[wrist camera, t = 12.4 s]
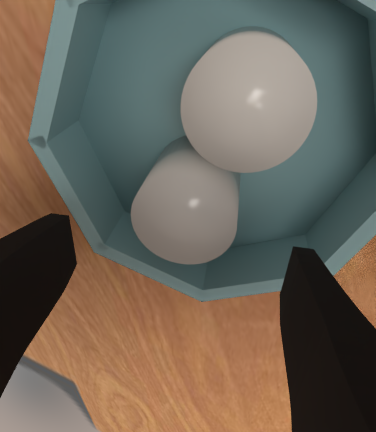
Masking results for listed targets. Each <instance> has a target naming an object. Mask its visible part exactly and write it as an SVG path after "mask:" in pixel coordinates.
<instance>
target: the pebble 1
mask: <svg viewBox="0 0 376 432" xmlns="http://www.w3.org/2000/svg"><path fill="white" fill-rule="evenodd" d="M240 180H241V173H238V172H232V171H228V170H224V169H221V168H219V167H217V166H215V165H213V164H211V163H210V162H208V161H207V160H206V159H204V158H203V157H202V156H201V155H200V154H199V153H198V152H197V151H196V150H195V149H194V147H193V146H192V145H191V143H190V141H189V140H188V138H187V136H183V137H180V138H178V139H176V140H174V141H172V142H171V143H169V144H168V145H167V146H166V147H165V148H164V150H163V151H162V152H161V154H160V156H159V157H158V159H157V161H156V162H155V164H154V166H153V167H152V169H151V171H150V172H149V174H148V176H147V177H146V179H145V181H144V183H143V184H142V186H141V188H140V189H139V191H138V193H137V194H136V196H135V198H134V200H133V203H132V207H131V222H132V226H133V229H134V231H135V233H136V235H137V237H138V238H139V240H140V241H141V242H142V243H143V244H144V246H145V247H146V248H148V249H149V250H150V251H151V252H153V253H154V254H156V255H157V256H159V257H161V258H163V259H165V260H168V261H171V262H174V263H179V264H201V263H205V262H208V261H211V260H213V259H215V258H217V257H219V256H220V255H222V254H223V253H224V252H225V251H226V250H227V249H228V248H229V247H230V245H231V244H232V242H233V240H234V238H235V235H236V231H237V220H238V206H239V193H240Z"/></svg>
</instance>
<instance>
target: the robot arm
mask: <svg viewBox="0 0 376 432" xmlns="http://www.w3.org/2000/svg"><path fill="white" fill-rule="evenodd" d="M76 265H77V261H76V255H75V249H74V243H73V237H72V232H71V226H70V220H69V216H67V215H59V214H52V213H51V214H49V215H47V216H44V217H42V218H40V219H38V220H36V221H34V222H32V223H30V224H28V225H26V226H24V227H22V228H20V229H18V230H17V231H15V232H13V233H11V234H9V235H7V236H5V237H3V238H1V239H0V397H1V395H2V393H3V391H4V389H5V387H6V385H7V383H8V381H9V380H10V378H11V376H12V374H13V372H14V370H15V368H16V366H17V364H18V362H19V361H20V359H21V357H22V355H23V354H24V352H25V350H26V349H27V347H28V346H29V344H30V343H31V341H32V339H33V338H34V336H35V335H36V333H37V332H38V330H39V329H40V327H41V326H42V324H43V323H44V321H45V320H46V318H47V317H48V315H49V314H50V312H51V311H52V309H53V307H54V306H55V304H56V303H57V301H58V300H59V298H60V297H61V295H62V293H63V292H64V290H65V288H66V286H67V284H68V282H69V280H70V278H71V276H72V274H73V271H74V269H75V267H76ZM280 327H281V335H282V343H283V350H284V357H285V365H286V372H287V379H288V387H289V394H290V404H291V420H292V432H376V329H375V328H374V326H373V325H372V324H371V323H370V322H369V321H368V320H367V318H366V317H365V316H364V315H363V314H362V313H361V312H360V310H359V309H358V308H357V307H356V305H355V304H354V303H353V302H352V300H351V299H350V298H349V297H348V295H347V294H346V293H345V291H344V290H343V289H342V287H341V286H340V285H339V283H338V282H337V281H336V279H335V278H334V277H333V275H332V274H331V272H330V271H329V270H328V268H327V267H326V265H325V264H324V263H323V261H322V260H321V258H320V257H319V256H318V254H317V253H316V251H315V250H314V249H310V248H302V247H295V246H293V248H292V252H291V256H290V259H289V263H288V267H287V270H286V274H285V278H284V281H283V285H282V289H281V292H280Z"/></svg>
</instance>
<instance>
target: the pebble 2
mask: <svg viewBox="0 0 376 432" xmlns="http://www.w3.org/2000/svg"><path fill="white" fill-rule="evenodd" d="M316 111H317V91H316V87H315V82H314V79H313V77H312V74H311V72H310V70H309V69H308V67H307V65H306V64H305V62H304V61H303V60H302V58H301V57H300V56H299V55H298V54H297V52H296V51H295V50H294V49H293V47H292V46H291V45H290V44H289V43H288V41H287V40H285V39H284V38H283V37H282V36H281V35H279V34H278V33H276V32H274V31H272V30H270V29H267V28H264V27H258V26H247V27H241V28H237V29H234V30H232V31H230V32H228V33H226V34H224V35H223V36H221V37H220V38H219V39H218V40H216V41H215V43H214V44H213V45H212V46H211V47H210V48H209V49H208V50H207V52H206V53H205V54H204V55H203V56H202V57H201V59H200V60H199V61H198V62H197V64H196V65H195V66H194V68H193V69H192V70H191V72H190V74H189V76H188V78H187V80H186V83H185V85H184V88H183V92H182V96H181V119H182V124H183V128H184V131H185V133H186V136H187V138H188V140H189V141H190V143H191V145H192V146H193V147H194V149H195V150H196V151H197V152H198V153H199V154H200V155H201V156H202V157H203V158H204V159H206V160H207V161H208V162H210V163H211V164H213V165H215V166H217V167H219V168H221V169H224V170H228V171H232V172H238V173H253V172H259V171H263V170H267V169H270V168H272V167H275V166H277V165H279V164H280V163H282V162H284V161H285V160H287V159H288V158H289V157H291V156H292V155H293V154H294V153H295V152H296V151H297V150H298V149H299V148H300V147H301V145H302V144H303V143H304V141H305V140H306V138H307V137H308V135H309V133H310V131H311V129H312V126H313V123H314V120H315V116H316Z"/></svg>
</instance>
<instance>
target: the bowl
mask: <svg viewBox="0 0 376 432" xmlns="http://www.w3.org/2000/svg"><path fill="white" fill-rule="evenodd" d="M247 26H258V27H264V28H267V29H270V30H272V31H274V32H276V33H278V34H279V35H281V36H282V37H283V38H284V39H285V40H287V41H288V43H289V44H290V45H291V46H292V47H293V49H294V50H295V51H296V52H297V54H298V55H299V56H300V57H301V58H302V60H303V61H304V62H305V64H306V65H307V67H308V69H309V70H310V72H311V74H312V77H313V79H314V82H315V87H316V91H317V111H316V116H315V120H314V123H313V126H312V129H311V131H310V133H309V135H308V137H307V138H306V140H305V141H304V143H303V144H302V145H301V147H300V148H299V149H298V150H297V151H296V152H295V153H294V154H293V155H292V156H291V157H289V158H288V159H287V160H285V161H284V162H282V163H280V164H279V165H277V166H275V167H272V168H270V169H267V170H263V171H259V172H253V173H241V180H240V193H239V206H238V220H237V231H236V235H235V238H234V240H233V242H232V244H231V245H230V247H229V248H228V249H227V250H226V251H225V252H224V253H223V254H222V255H220V256H219V257H217V258H215V259H213V260H211V261H208V262H205V263H201V264H179V263H174V262H171V261H168V260H165V259H163V258H161V257H159V256H157V255H156V254H154V253H153V252H151V251H150V250H149V249H148V248H146V247H145V246H144V244H143V243H142V242H141V241H140V240H139V238H138V237H137V235H136V233H135V231H134V229H133V226H132V222H131V207H132V203H133V200H134V198H135V196H136V194H137V193H138V191H139V189H140V188H141V186H142V184H143V183H144V181H145V179H146V177H147V176H148V174H149V172H150V171H151V169H152V167H153V166H154V164H155V162H156V161H157V159H158V157H159V156H160V154H161V152H162V151H163V150H164V148H165V147H166V146H167V145H168V144H169V143H171V142H172V141H174V140H176V139H178V138H180V137H183V136H186V133H185V131H184V128H183V124H182V119H181V96H182V92H183V88H184V85H185V83H186V80H187V78H188V76H189V74H190V72H191V70H192V69H193V68H194V66H195V65H196V64H197V62H198V61H199V60H200V59H201V57H202V56H203V55H204V54H205V53H206V52H207V50H208V49H209V48H210V47H211V46H212V45H213V44H214V43H215V41H216V40H218V39H219V38H220V37H221V36H223V35H224V34H226V33H228V32H230V31H232V30H234V29H237V28H241V27H247ZM28 142H29V143H30V145H31V147H32V148H33V150H34V152H35V153H36V155H37V157H38V158H39V160H40V162H41V163H42V165H43V167H44V169H45V170H46V172H47V174H48V175H49V177H50V179H51V180H52V182H53V184H54V185H55V187H56V189H57V190H58V192H59V194H60V195H61V197H62V199H63V201H64V202H65V204H66V206H67V207H68V209H69V211H70V212H71V214H72V216H73V217H74V219H75V221H76V222H77V224H78V226H79V227H80V229H81V231H82V233H83V234H84V236H85V238H86V239H87V241H88V243H89V244H90V246H91V248H92V249H93V251H94V253H97V254H99V255H101V256H103V257H106V258H108V259H110V260H112V261H114V262H116V263H119V264H121V265H123V266H125V267H127V268H129V269H132V270H134V271H136V272H138V273H140V274H142V275H145V276H147V277H149V278H151V279H153V280H155V281H158V282H160V283H162V284H164V285H166V286H168V287H171V288H173V289H175V290H177V291H179V292H182V293H184V294H186V295H188V296H190V297H192V298H195V299H197V300H199V301H201V302H203V301H211V300H218V299H225V298H233V297H240V296H247V295H255V294H262V293H269V292H277V291H281V289H282V285H283V281H284V278H285V274H286V270H287V267H288V263H289V259H290V256H291V252H292V248H293V246H295V247H302V248H310V249H314V250H315V251H316V253H317V254H318V256H319V257H320V258H321V260H322V261H323V263H324V264H325V265H326V267H327V268H328V270H329V271H330V272H331V274H332V275H333V276H334V275H335V274H336V273H337V272H338V271H339V270H340V269H341V268H342V267H343V266H344V265H345V264H346V263H347V262H348V261H349V260H350V259H351V258H352V257H353V256H354V255H355V254H356V253H357V252H358V251H360V250H361V249H362V248H363V247H364V246H365V245H366V244H367V243H368V242H369V241H370V240H371V239H372V238H373V237H374V236H375V235H376V0H56V1H55V6H54V11H53V16H52V21H51V27H50V32H49V37H48V42H47V47H46V52H45V57H44V62H43V67H42V72H41V77H40V82H39V87H38V92H37V97H36V102H35V107H34V112H33V117H32V123H31V128H30V133H29V138H28Z"/></svg>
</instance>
